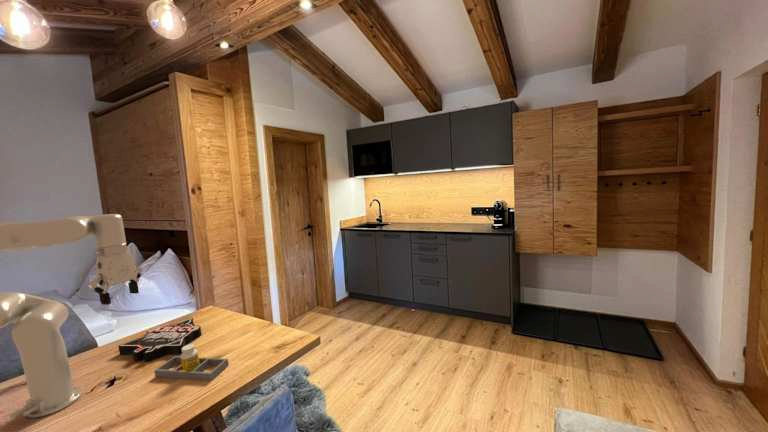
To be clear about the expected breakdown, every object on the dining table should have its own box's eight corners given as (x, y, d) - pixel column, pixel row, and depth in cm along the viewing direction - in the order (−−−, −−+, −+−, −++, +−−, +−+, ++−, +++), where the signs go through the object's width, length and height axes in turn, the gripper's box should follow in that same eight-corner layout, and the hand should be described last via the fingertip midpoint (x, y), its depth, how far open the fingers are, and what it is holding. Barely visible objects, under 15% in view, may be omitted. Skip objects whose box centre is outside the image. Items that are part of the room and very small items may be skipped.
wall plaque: (105, 353, 123) (164, 318, 152) (106, 363, 123) (166, 326, 153) (170, 353, 120) (218, 317, 150) (171, 363, 121) (219, 325, 150)
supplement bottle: (194, 365, 117) (191, 341, 116) (203, 368, 115) (199, 344, 113) (180, 373, 113) (176, 349, 111) (188, 377, 110) (184, 352, 109)
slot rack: (211, 380, 107) (210, 373, 107) (155, 376, 112) (153, 369, 111) (228, 364, 116) (227, 357, 116) (176, 361, 121) (175, 355, 120)
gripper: (93, 256, 96) (103, 309, 98) (145, 244, 113) (152, 289, 115) (74, 257, 98) (84, 308, 100) (128, 244, 115) (136, 289, 117)
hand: (120, 298), depth 108 cm, fingers open, 9 cm apart
